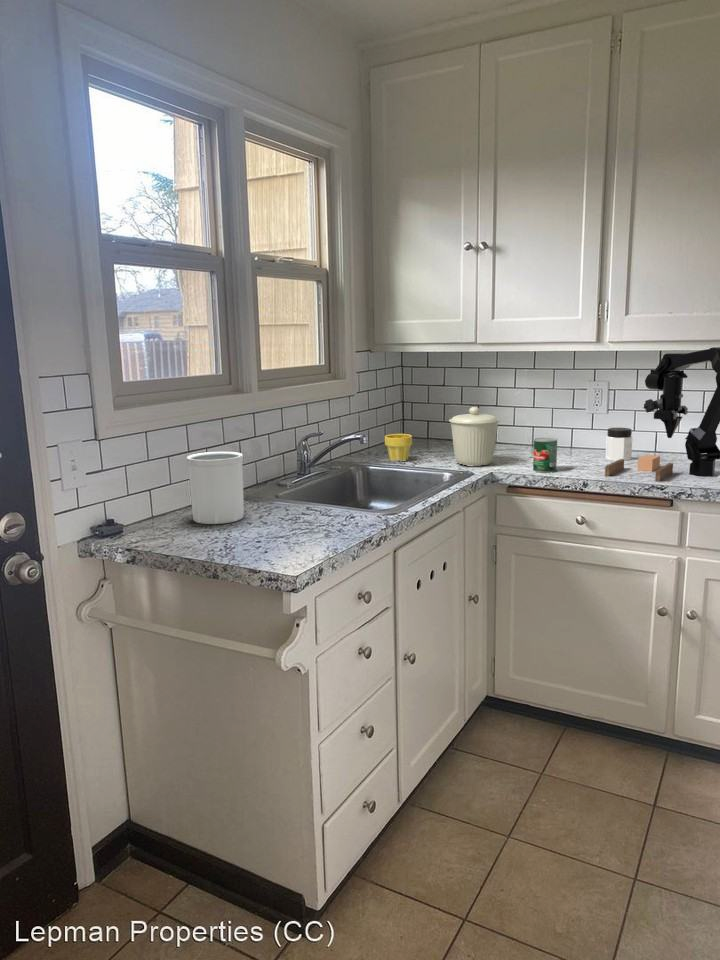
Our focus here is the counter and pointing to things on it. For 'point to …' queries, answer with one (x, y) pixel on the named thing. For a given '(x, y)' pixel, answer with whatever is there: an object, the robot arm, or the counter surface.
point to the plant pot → (398, 446)
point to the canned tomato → (545, 455)
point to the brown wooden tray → (619, 466)
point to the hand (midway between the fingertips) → (669, 437)
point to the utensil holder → (216, 487)
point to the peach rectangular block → (648, 463)
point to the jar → (619, 444)
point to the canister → (474, 437)
